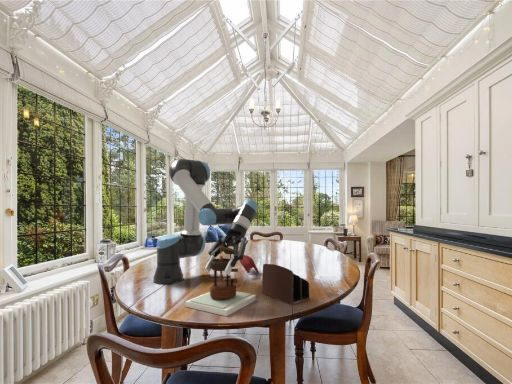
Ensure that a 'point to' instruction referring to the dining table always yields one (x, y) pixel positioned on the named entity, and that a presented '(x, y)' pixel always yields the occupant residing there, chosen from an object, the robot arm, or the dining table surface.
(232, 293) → the music box
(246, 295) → the display stand
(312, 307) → the dining table surface
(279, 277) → the letter holder
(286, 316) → the dining table surface
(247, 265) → the red winged figure
